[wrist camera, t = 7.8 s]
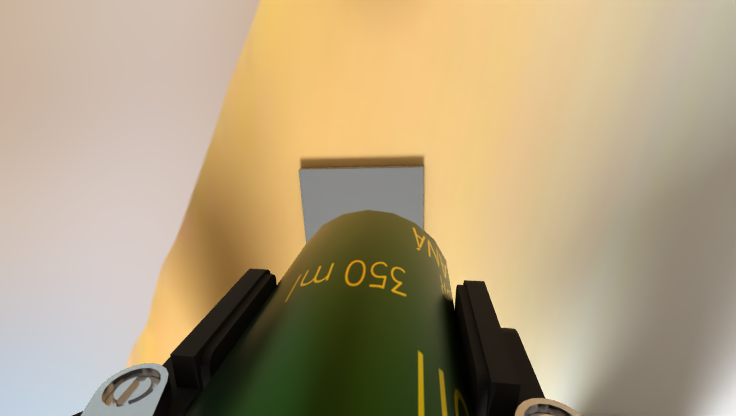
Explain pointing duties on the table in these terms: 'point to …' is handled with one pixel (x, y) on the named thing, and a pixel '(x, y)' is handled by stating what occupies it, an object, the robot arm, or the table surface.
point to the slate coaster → (360, 193)
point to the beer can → (350, 331)
